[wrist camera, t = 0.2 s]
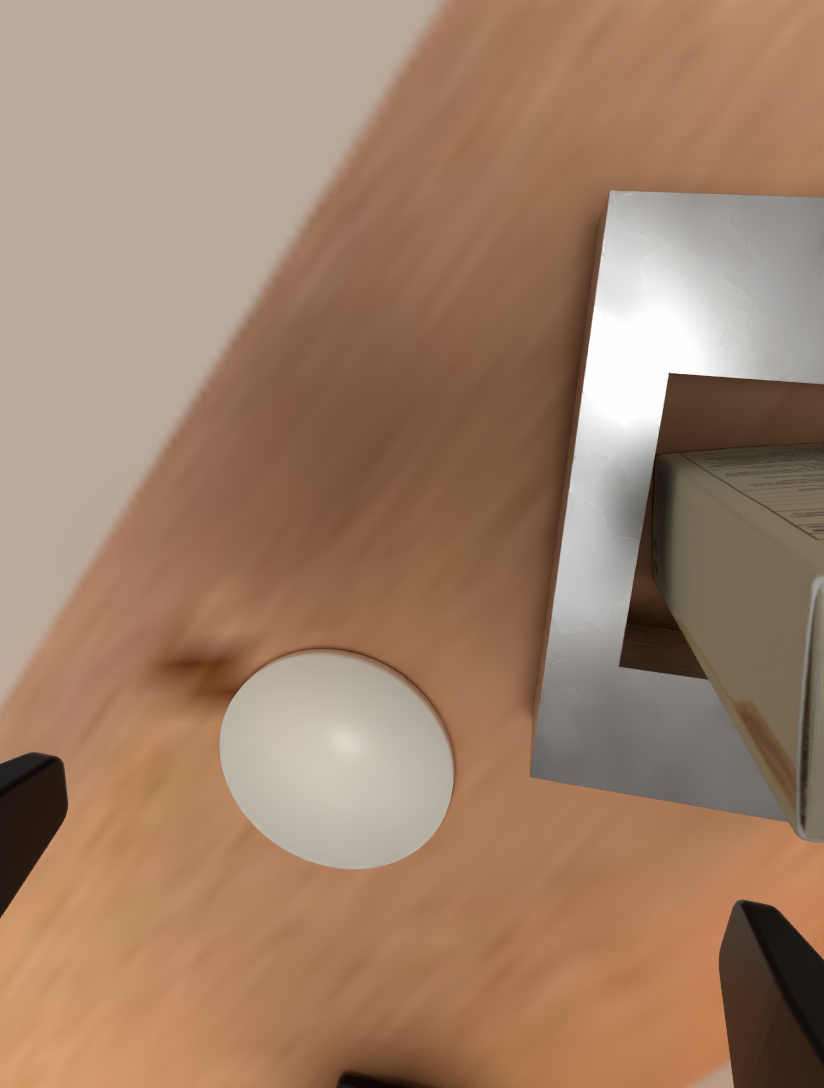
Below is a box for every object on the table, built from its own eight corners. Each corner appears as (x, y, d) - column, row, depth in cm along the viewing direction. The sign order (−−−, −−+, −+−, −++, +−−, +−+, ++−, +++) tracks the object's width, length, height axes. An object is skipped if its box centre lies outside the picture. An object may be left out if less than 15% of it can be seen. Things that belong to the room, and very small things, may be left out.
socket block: (909, 778, 22) (973, 854, 18) (532, 717, 24) (529, 777, 20) (1083, 237, 17) (1211, 209, 14) (599, 219, 19) (609, 190, 16)
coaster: (444, 878, 26) (441, 889, 26) (227, 834, 28) (220, 844, 27) (465, 668, 24) (463, 676, 23) (225, 632, 25) (217, 639, 25)
